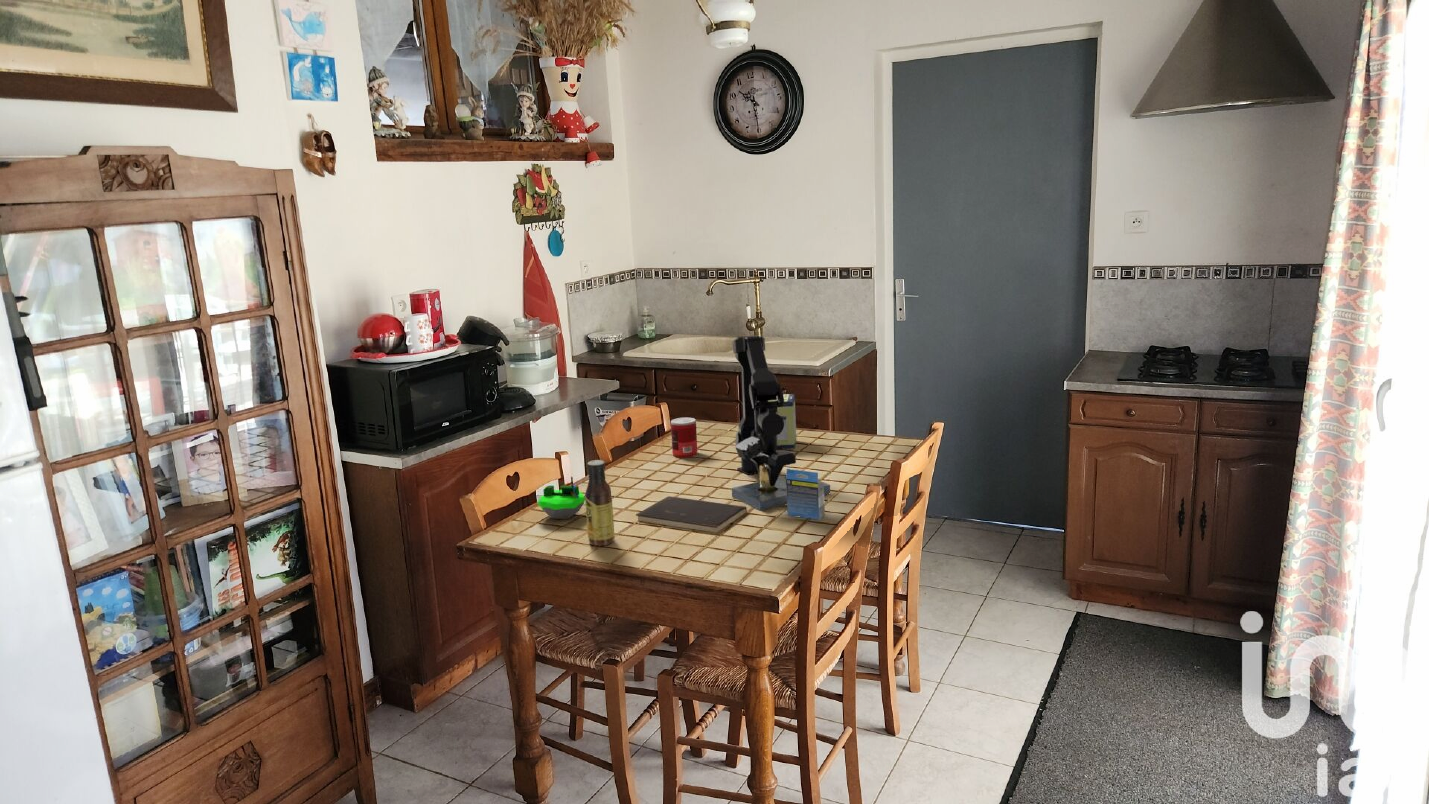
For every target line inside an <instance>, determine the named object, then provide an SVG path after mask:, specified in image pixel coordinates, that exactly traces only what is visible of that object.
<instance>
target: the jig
mask: <svg viewBox="0 0 1429 804" xmlns="http://www.w3.org/2000/svg"><path fill="white" fill-rule="evenodd" d="M796 476H797V477H800V478H807V476H804V475H803V474H801V475H796ZM818 483H822V484H824V496H828V495H830V494H831V484H829V483H826V482H823V481H821V480H820V479H818ZM829 493H830V494H829ZM827 494H828V495H827ZM731 497H732V498H733V499H736V500H738V501H740V502H742V503H744V504H746V505H748V506H750V507H752V508H754V509H756V510H758V511H761V510H762V511H766V510H769V509H772V508H773V507H774V508H777V507H778V508H779V507H782V505H783V506H786V505H785V504H787V489H786V474H785V475H782V476H779V477H778V479H777V481H776V483H775V492H771V493H768V492H760V481H757V482H752V483H748V484H744V485H739V486H735V487H731Z"/></svg>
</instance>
